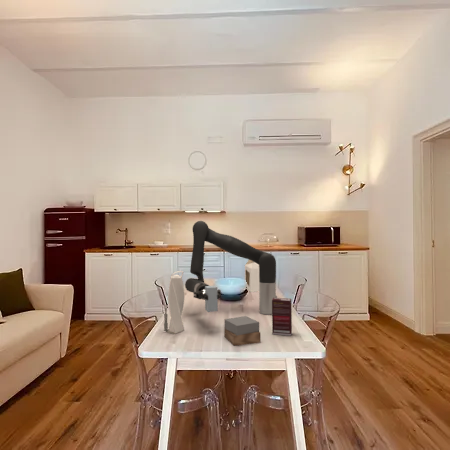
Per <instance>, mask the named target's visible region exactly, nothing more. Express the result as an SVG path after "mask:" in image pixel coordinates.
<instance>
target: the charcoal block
mask: <svg viewBox="0 0 450 450" xmlns="http://www.w3.org/2000/svg"><path fill="white" fill-rule="evenodd" d="M224 327H225V329H227V330H228V331H230V332H232V333H234V334H235V335H243V334H248V333H254V332H260V322H259V321H257V320H255V319H254V318H252V317H249V316H247V315H243V316H237V317H230V318H225V319H224Z"/></svg>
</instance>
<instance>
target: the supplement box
mask: <svg viewBox="0 0 450 450" xmlns="http://www.w3.org/2000/svg"><path fill="white" fill-rule="evenodd" d="M292 313H293V310H292V298H287V297H286V298H283V297H277V298H273V299H272V314H271V319H272V320H271V321H272V323H271V324H272V325H271V329H272V330H271V331H272V332H271V333H272V335H275V336H276V335H277V336H290V337H291V336H292V331H293V328H292V327H293V324H292V323H293V322H292V320H293V319H292V317H293V316H292V315H293V314H292Z"/></svg>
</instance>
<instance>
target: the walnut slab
mask: <svg viewBox="0 0 450 450" xmlns="http://www.w3.org/2000/svg"><path fill="white" fill-rule="evenodd" d="M223 333H224V335H223V336H224V338H225V339H226V340H228V342H229V343H231V345H232V346H234V347H235V346H242V345H244V346H245V345H251V344H259V343H261V331H259V332H254V333H248V334H243V335H235V334H234V333H232V332H230V331H228V330H227V329H225V326H224V329H223Z"/></svg>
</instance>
